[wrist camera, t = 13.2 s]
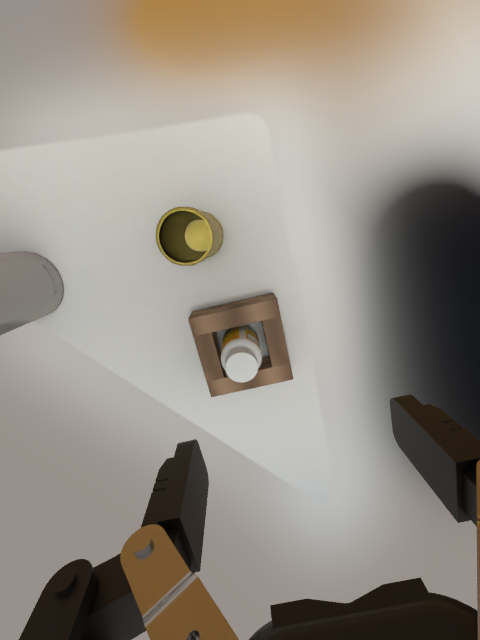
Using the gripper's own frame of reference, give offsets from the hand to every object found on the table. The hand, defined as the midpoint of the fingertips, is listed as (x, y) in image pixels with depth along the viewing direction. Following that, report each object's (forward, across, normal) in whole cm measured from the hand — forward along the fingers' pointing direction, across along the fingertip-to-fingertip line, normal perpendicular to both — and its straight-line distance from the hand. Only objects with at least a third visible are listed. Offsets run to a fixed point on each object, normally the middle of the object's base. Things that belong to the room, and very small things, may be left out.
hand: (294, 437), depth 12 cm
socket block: (+32, +3, +7) cm, 33 cm away
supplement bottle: (+32, +3, +7) cm, 33 cm away
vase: (+32, +5, -9) cm, 34 cm away
